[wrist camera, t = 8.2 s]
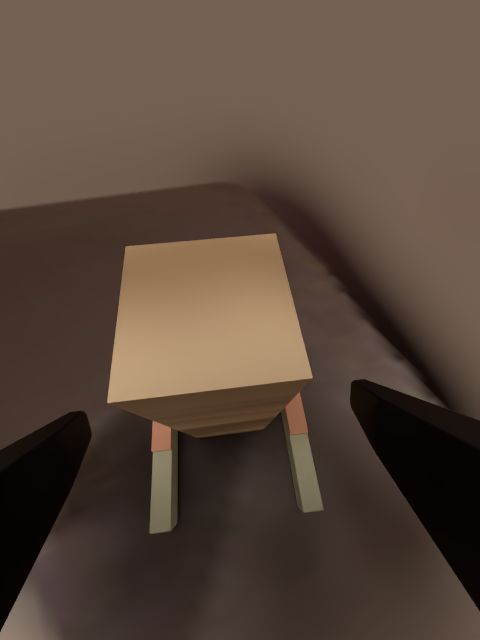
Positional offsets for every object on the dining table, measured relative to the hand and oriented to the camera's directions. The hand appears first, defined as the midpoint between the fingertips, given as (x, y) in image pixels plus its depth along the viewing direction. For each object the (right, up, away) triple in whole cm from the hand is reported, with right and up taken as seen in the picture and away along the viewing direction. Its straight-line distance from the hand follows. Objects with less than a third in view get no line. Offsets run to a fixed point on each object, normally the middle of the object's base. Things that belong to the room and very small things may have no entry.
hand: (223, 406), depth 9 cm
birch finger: (0, -2, +8) cm, 8 cm away
